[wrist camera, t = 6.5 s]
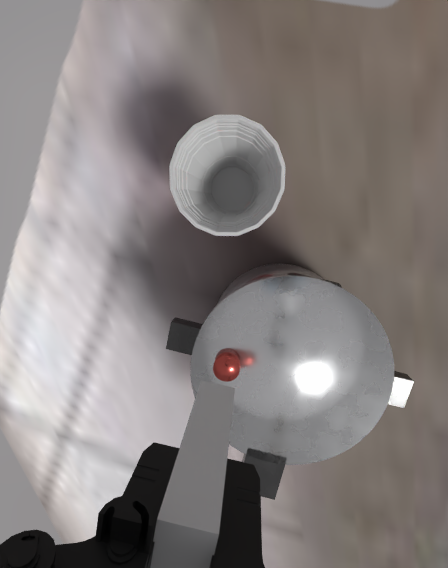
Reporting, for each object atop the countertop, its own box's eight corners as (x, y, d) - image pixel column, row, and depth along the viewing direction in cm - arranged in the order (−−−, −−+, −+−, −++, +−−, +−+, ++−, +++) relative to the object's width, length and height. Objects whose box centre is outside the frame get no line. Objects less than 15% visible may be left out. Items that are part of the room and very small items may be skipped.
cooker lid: (215, 253, 31) (210, 256, 27) (414, 300, 30) (436, 309, 26) (169, 460, 35) (160, 486, 32) (342, 506, 34) (353, 537, 31)
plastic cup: (244, 249, 42) (241, 259, 31) (176, 202, 42) (146, 194, 30) (294, 177, 40) (311, 158, 28) (222, 127, 40) (210, 87, 28)
